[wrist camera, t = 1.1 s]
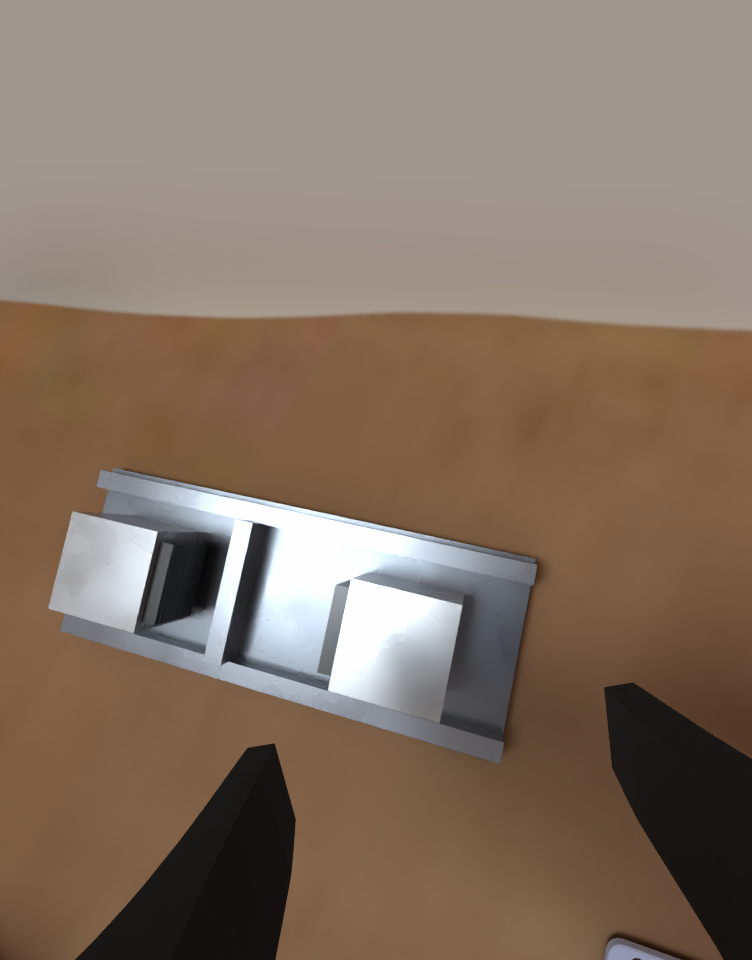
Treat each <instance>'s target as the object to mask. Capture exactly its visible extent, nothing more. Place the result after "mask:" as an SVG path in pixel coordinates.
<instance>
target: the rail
mask: <svg viewBox="0 0 752 960" xmlns="http://www.w3.org/2000/svg"><path fill="white" fill-rule="evenodd" d="M96 487H100V488H105V489H108V493H107V497H106V501H105V505H104V509H103V513H93V512H76V511H73V512H72V516H71V520H70V524H69V528H68V532H67V536H66V540H65V544H64V548H63V552H62V556H61V560H60V564H59V568H58V572H57V576H56V580H55V584H54V588H53V592H52V596H51V600H50V604H49V608H48V609H52V610H55V611H58V612H62V613H65V615H64V619H63V623H62V627H61V631H62V632H65V633H69V634H72V635H75V636H79V637H82V638H85V639H88V640H92V641H95V642H98V643H102V644H105V645H108V646H112V647H115V648H118V649H122V650H125V651H128V652H131V653H135V654H138V655H141V656H145V657H148V658H151V659H155V660H158V661H161V662H164V663H168V664H171V665H174V666H178V667H181V668H184V669H188V670H191V671H194V672H197V673H201V674H204V675H207V676H211V677H214V678H217V679H221V680H224V681H227V682H230V683H234V684H237V685H240V686H244V687H247V688H250V689H254V690H257V691H260V692H263V693H267V694H270V695H273V696H277V697H280V698H283V699H287V700H290V701H293V702H296V703H300V704H303V705H306V706H310V707H313V708H316V709H320V710H323V711H326V712H329V713H333V714H336V715H339V716H343V717H346V718H349V719H353V720H356V721H359V722H362V723H366V724H369V725H372V726H376V727H379V728H382V729H386V730H389V731H392V732H396V733H399V734H402V735H405V736H409V737H412V738H415V739H419V740H422V741H425V742H429V743H432V744H435V745H438V746H442V747H445V748H448V749H452V750H455V751H458V752H462V753H465V754H468V755H471V756H475V757H478V758H481V759H485V760H488V761H491V762H495V763H498V764H500V763H501V758H502V752H503V747H504V738H503V732H504V727H505V721H506V716H507V711H508V705H509V700H510V694H511V689H512V684H513V678H514V673H515V668H516V662H517V657H518V652H519V646H520V641H521V636H522V630H523V625H524V619H525V614H526V609H527V603H528V598H529V593H530V587H531V585H534V580H535V575H536V570H537V565H536V564H535V561H536V559H535V558H531V557H526V556H522V555H517V554H512V553H508V552H503V551H498V550H494V549H489V548H484V547H480V546H475V545H470V544H466V543H461V542H456V541H452V540H447V539H442V538H438V537H433V536H428V535H424V534H419V533H415V532H410V531H405V530H401V529H396V528H391V527H387V526H382V525H377V524H373V523H368V522H363V521H359V520H354V519H349V518H345V517H340V516H335V515H331V514H326V513H322V512H317V511H312V510H308V509H303V508H298V507H294V506H289V505H284V504H280V503H275V502H270V501H266V500H261V499H256V498H252V497H247V496H242V495H238V494H233V493H228V492H224V491H219V490H215V489H210V488H205V487H201V486H196V485H191V484H187V483H182V482H177V481H173V480H168V479H163V478H159V477H154V476H149V475H145V474H140V473H135V472H131V471H126V470H121V469H116V468H113V472H109V471H104V470H100V474H99V478H98V482H97V486H96ZM368 572H375V573H380V574H384V575H388V576H392V577H396V578H401V579H405V580H409V581H413V582H418V583H422V584H426V585H430V586H435V587H439V588H443V589H447V590H452V591H456V592H460V593H464V599H463V605H462V610H461V616H460V621H459V626H458V631H457V636H456V641H455V646H454V651H453V657H452V662H451V667H450V672H449V677H448V682H447V687H446V692H445V697H444V703H443V708H442V713H441V718H440V723H437V722H433V721H430V720H427V719H423V718H420V717H416V716H413V715H410V714H406V713H403V712H399V711H396V710H393V709H389V708H386V707H382V706H379V705H375V704H372V703H369V702H365V701H362V700H358V699H355V698H352V697H348V696H345V695H341V694H338V693H335V692H331V691H328V687H329V683H330V678H331V676H328V675H324V674H321V673H318V672H317V670H318V665H319V660H320V656H321V651H322V646H323V642H324V637H325V632H326V628H327V623H328V618H329V613H330V609H331V604H332V599H333V595H334V590H335V585H337V584H339V583H342V582H345V581H348V580H350V579H352V578H354V577H357V576H360V575H363V574H365V573H368Z"/></svg>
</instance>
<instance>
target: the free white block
mask: <svg viewBox="0 0 752 960" xmlns="http://www.w3.org/2000/svg"><path fill="white" fill-rule="evenodd" d="M463 599H464V593H460V592H456V591H452V590H447V589H443V588H439V587H435V586H430V585H426V584H422V583H418V582H413V581H409V580H405V579H401V578H396V577H392V576H388V575H384V574H380V573H375V572H368V573H365V574H363V575H360V576H357V577H354V578H352V579H350V580H348V581H345V582H342V583H339V584H337V585H335V590H334V595H333V599H332V604H331V609H330V613H329V618H328V623H327V628H326V632H325V637H324V642H323V646H322V651H321V656H320V660H319V665H318V670H317V672H318V673H321V674H324V675H328V676H331V678H330V683H329V687H328V691H331V692H335V693H338V694H341V695H345V696H348V697H352V698H355V699H358V700H362V701H365V702H369V703H372V704H375V705H379V706H382V707H386V708H389V709H393V710H396V711H399V712H403V713H406V714H410V715H413V716H416V717H420V718H423V719H427V720H430V721H433V722H437V723H440V718H441V713H442V708H443V703H444V697H445V692H446V687H447V682H448V677H449V672H450V667H451V662H452V657H453V651H454V646H455V641H456V636H457V631H458V626H459V621H460V616H461V610H462V605H463Z"/></svg>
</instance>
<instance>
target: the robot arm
mask: <svg viewBox="0 0 752 960" xmlns="http://www.w3.org/2000/svg"><path fill="white" fill-rule="evenodd" d="M604 690H605V700H606V710H607V720H608V730H609V740H610V750H611V760H612V768H613V770H614V772H615V774H616V777H617V779H618V781H619V783H620V785H621V787H622V789H623V791H624V793H625V796H626V798H627V800H628V802H629V804H630V806H631V808H632V810H633V812H634V814H635V816H636V818H637V819H638V821H639V823H640V824H641V826H642V828H643V829H644V831H645V833H646V834H647V836H648V838H649V839H650V841H651V842H652V844H653V846H654V847H655V849H656V851H657V852H658V854H659V855H660V857H661V859H662V860H663V862H664V864H665V865H666V867H667V868H668V870H669V872H670V873H671V875H672V876H673V878H674V880H675V881H676V883H677V884H678V886H679V888H680V889H681V891H682V892H683V894H684V896H685V897H686V899H687V900H688V902H689V904H690V905H691V907H692V908H693V910H694V912H695V913H696V915H697V916H698V918H699V920H700V921H701V923H702V925H703V926H704V928H705V929H706V931H707V933H708V934H709V936H710V937H711V939H712V941H713V942H714V944H715V945H716V947H717V949H718V950H719V952H720V954H721V956H722V957H723V959H724V960H752V759H751V758H749V757H748V756H746V755H744V754H743V753H741V752H739V751H738V750H736V749H734V748H733V747H731V746H729V745H728V744H726V743H725V742H723V741H721V740H720V739H718V738H717V737H715V736H714V735H712V734H710V733H709V732H707V731H706V730H704V729H703V728H701V727H699V726H698V725H696V724H695V723H693V722H692V721H690V720H689V719H687V718H686V717H684V716H683V715H681V714H680V713H678V712H677V711H675V710H674V709H672V708H671V707H669V706H668V705H666V704H665V703H663V702H662V701H660V700H659V699H657V698H656V697H654V696H653V695H651V694H650V693H648V692H647V691H645V690H644V689H642V688H641V687H639V686H637V685H636V684H634V683H628V684H622V685H616V686H610V687H604ZM295 822H296V819H295V815H294V812H293V808H292V805H291V801H290V797H289V794H288V790H287V786H286V783H285V779H284V776H283V772H282V768H281V765H280V761H279V758H278V754H277V750H276V747H275V743H274V744H268V745H262V746H257V747H251V748H247V749H246V751H245V752H244V754H243V755H242V756H241V758H240V759H239V760H238V762H237V763H236V764H235V766H234V767H233V769H232V770H231V771H230V773H229V774H228V776H227V777H226V778H225V780H224V781H223V783H222V784H221V785H220V787H219V788H218V789H217V791H216V792H215V794H214V795H213V796H212V798H211V799H210V801H209V802H208V803H207V805H206V806H205V807H204V809H203V810H202V812H201V813H200V814H199V816H198V817H197V818H196V820H195V821H194V822H193V824H192V825H191V826H190V828H189V829H188V830H187V832H186V833H185V834H184V836H183V837H182V838H181V840H180V841H179V842H178V843H177V845H176V846H175V847H174V848H173V850H172V851H171V852H170V853H169V855H168V856H167V857H166V858H165V860H164V861H163V862H162V863H161V865H160V866H159V867H158V868H157V870H156V871H155V872H154V873H153V875H152V876H151V877H150V878H149V880H148V881H147V882H146V883H145V884H144V886H143V887H142V888H141V889H140V890H139V891H138V893H137V894H136V895H135V896H134V897H133V898H132V899H131V901H130V902H129V903H128V904H127V905H126V906H125V907H124V909H123V910H122V911H121V912H120V913H119V914H118V915H117V916H116V917H115V918H114V920H113V921H112V922H111V923H110V924H109V925H108V926H107V927H106V928H105V929H104V930H103V931H102V933H101V934H100V935H99V936H98V937H97V938H96V939H95V940H94V941H93V942H92V943H91V944H90V945H89V946H88V947H87V948H86V949H85V951H84V952H82V953H81V954H80V955H79V956H78V957H77V958H76V959H75V960H275V959H276V954H277V948H278V943H279V938H280V933H281V927H282V922H283V917H284V911H285V906H286V900H287V895H288V890H289V884H290V878H291V871H292V860H293V849H294V835H295ZM634 958H640V959H641V960H681V959H678V958H675V957H673V956H670V955H667V954H664V953H661V952H659V951H656V950H653V949H650V948H647V947H645V946H642V945H639V944H636V943H633V942H631V941H628V940H625V939H621V938H614V939H611V940H610V941H609V942H608V944H607V946H606V951H605V957H604V960H632V959H634Z"/></svg>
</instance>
